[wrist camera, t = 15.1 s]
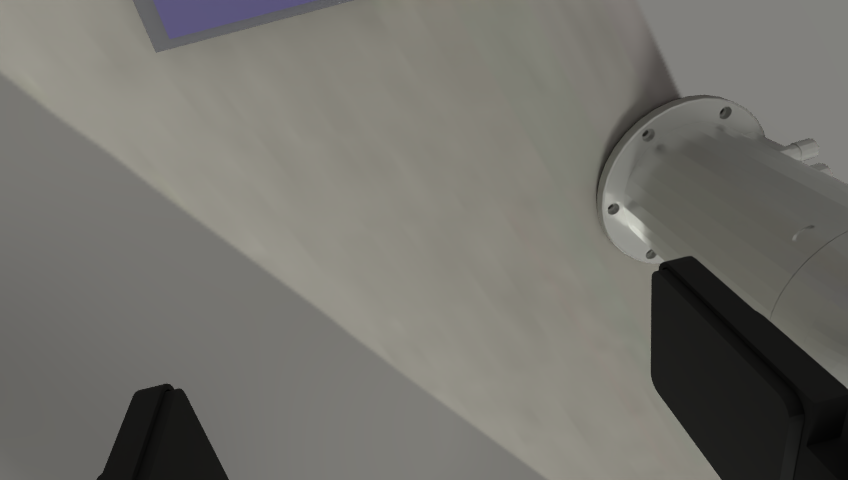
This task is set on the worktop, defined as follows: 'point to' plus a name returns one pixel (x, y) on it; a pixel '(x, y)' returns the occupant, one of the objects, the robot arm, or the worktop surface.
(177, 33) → the ink pad
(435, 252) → the worktop surface
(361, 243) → the worktop surface
